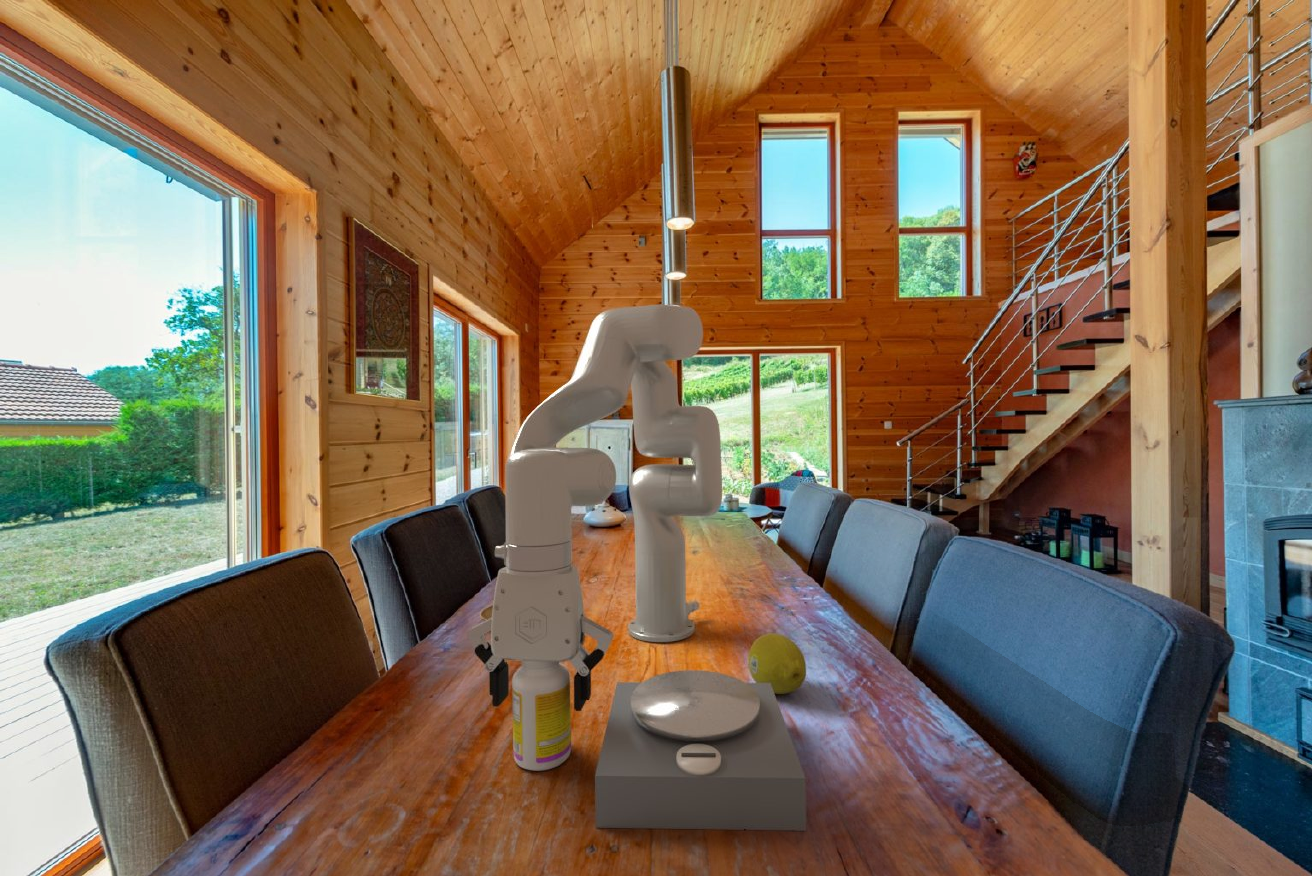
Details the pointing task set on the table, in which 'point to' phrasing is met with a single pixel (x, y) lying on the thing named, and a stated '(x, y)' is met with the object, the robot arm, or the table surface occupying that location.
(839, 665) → the table surface
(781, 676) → the lemon
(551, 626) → the robot arm
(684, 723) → the scale pan
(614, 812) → the kitchen scale
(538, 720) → the supplement bottle
